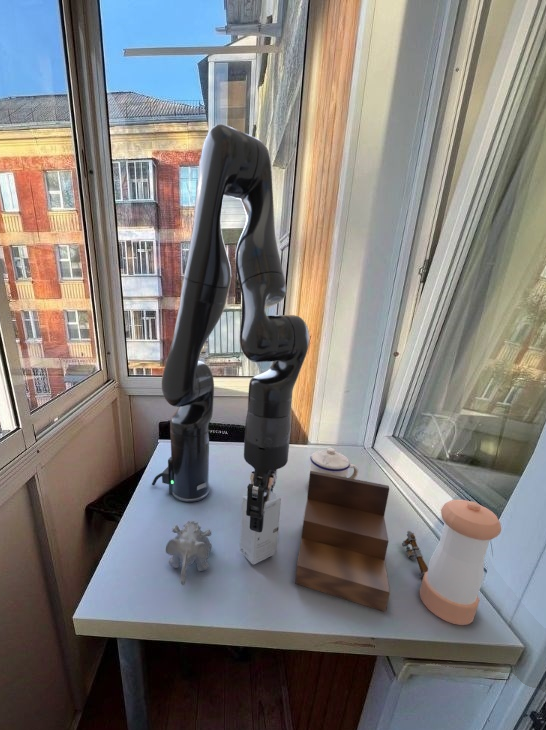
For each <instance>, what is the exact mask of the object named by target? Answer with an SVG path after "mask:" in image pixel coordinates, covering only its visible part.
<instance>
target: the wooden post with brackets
mask: <svg viewBox="0 0 546 730" xmlns="http://www.w3.org/2000/svg"><path fill="white" fill-rule="evenodd" d="M406 532H407V534H406V537H407V538H406V539H405V540H403V541H402V543H401V545H402V547H405V549H406V550H405V553H406V555H407V558H409V559H410V560H412V561H413V560H415V559H416V561H417V563H418V567H419V570H420V574H419V578H420V579H423V576H424V574H425V572H427V571H428V567H429V566H428V565H427V564H426V562H425V560H424V558H423V557H424V556H423V554H422V552H421V548H420V546H418V543H417V539H416V536H415V533H414V532H412V531H411V530H407V531H406ZM409 545H410V546H411V547H410V546H409Z"/></svg>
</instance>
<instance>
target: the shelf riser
mask: <svg viewBox="0 0 546 730" xmlns="http://www.w3.org/2000/svg"><path fill="white" fill-rule="evenodd" d="M309 475H310V477H308V484H309V486H308V487H307V495H306V496H307V497H306V503H305V509H304V515H303V520H302V530H301V539H300V545H299V550H298V557H297V562H296V570H295V579H294V580H295V581H294V584H296V585H299V586H302V587H306V588H308V589H311V590H315V591H318V592H321V593H324V594H327V595H331V596H334V597H337V598H341V599H343V600H347V601H349V602H353V603H356V604H359V605H363V606H365V607H369V608H372V609H375V610H378V611H382V612H387V607H388V604H389V603H388V602H389V597H390V594H391V593H390V584H389V578H388V572H387V566H386V556H387V551H388V545H389V535H388V531H387V530H388V529H387V525H386V519H385V514H386V508H387V503H388V497H389V493H390V486H389V485H388V484H387V485H386V484H382V483H377V482H372V481H366V480H361V479H357V478H355V479H351V478H349V477H347V478H346V477H341V476H335V475H330V474H325V473H320V472H315V471H310V470H309Z"/></svg>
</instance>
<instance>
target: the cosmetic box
mask: <svg viewBox="0 0 546 730" xmlns="http://www.w3.org/2000/svg"><path fill="white" fill-rule="evenodd" d="M266 494H267V493H266V492H264V496H266ZM281 505H282V497H281V496H279V495H277V494H276V493H275V492H274V491H273V492H272V491H271V494H270V500H269V501H268V502H266V506H265V514H264V521H263V530H262V532H256V531H253V530H251V529H250V516H247V515H246V510H247V494H246V495H244V496H242V500H241V515H240V517H241V518H240V533H239V534H240V536H239V537H240V538H239V552H240V553H241V554H242V555H243V556H244V557H245V558H246V559H247V561H249V562H250V563H251V564H252V565H256V564H258V563H260V562H262V561H264V560H266V559H269V557H271V556H273V555H276V554H277V552H278V551H277V550H278V539H279V528H280V518H281V517H280V514H281Z"/></svg>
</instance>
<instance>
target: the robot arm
mask: <svg viewBox="0 0 546 730" xmlns="http://www.w3.org/2000/svg"><path fill="white" fill-rule="evenodd" d="M197 172H198V173H197V180H196V190H195V191H196V192H195V202H194V210H193V211H194V212H193V221H192V229H191V236H190V241H189V247H188V253H187V258H186V263H185V268H184V273H183V278H182V284H181V290H180V297H179V302H178V303H179V304H178V308H177V315H176V319H175V325H174V330H173V335H172V339H171V343H170V347H169V351H168V354H167V358H166V361H165V365H164V368H163V373H162V376H161V391H162V395H163V398H164V399H165V401H166V402H167V404H168V405H171V406H172V407H176V408H177V410H176V411H175V412H174V413H173V414H172V416H171V418H170V420H169V432H170V456H169V458H168V460H167V466H166V468H165V469H164V470H163V471H162V472H160V473H158V474H157V475H156V476H155V477H154V479H153V480H152V482H151V486H153V487H154V486H155V485H156V483H157V481H158V480H159V479H160V478H161V482H162V484H165V485H168V494H169V495H172V496H173V497H174V498H175V499H176V500H178V501H180V502H184V503H193V502H199V501H202V500H204V499H206V498H207V497H208V495H209V493H210V482H209V481H210V422H211V420H212V417H213V411H214V399H215V382H214V380H215V379H214V375H213V372H212V370H211V368H210V366H208V365H207V363H205V362H204V361H201V360H200V356H201V353H202V350H203V348H204V347H205V344H206V342H207V340H208V339H209V337H210V336H211V334H212V333H213V332H214V329H215V328H216V326H217V324H218V323H219V321H220V319H221V317H222V315H223V313H224V310H225V307H226V304H227V300H228V299H227V298H228V297H229V291H230V289H231V288H230V287H231V282H232V267H231V264H230V260H229V256H228V252H227V249H226V245H225V242H224V241H225V240H224V238H223V232H222V211H223V210H222V209H223V202H224V196H227V197H231V198H233V199H237V200H240V202H241V204H242V206H243V209H244V212H245V218H246V219H245V225H244V226H243V227H244V228H243V230H242V233H241V234H240V237H239V240H238V241H237V242H238V243H237V246H236V250H235V266H236V267H235V268H236V272H237V278H238V283H239V289H240V293H241V319H240V326H239V327H240V328H239V346H240V350H241V351H242V354H243V355H244V356H245V358H246V359H248V360H249V361H251V362H253V363H270V362H272V364H271V365H270V367H269V368H268V369H267V370H266V371H263V372H260V373H258V374H255V375H254V376H252V377H251V378H250V380H249V383H248V393H247V394H248V396H247V397H248V398H247V411H246V416H245V421H244V422H245V424H244V443H243V458H244V461H245V462H246V463H247V464H248V465H249V466H251V467H252V469H254V470H251V473H250V476H249V477H250V478H249V479H250V483H248V485H247V488H246V489H247V492H246V493H247V494H246V495H247V510H246V515H247V516H250V529H251V530H253V531H256V532H262V530H263V521H264V514H265V506H266V502H268V501H269V500H270V494H271V491H272V492H273V493H274V487H275V486H276V482H277V479H278V476H277V475H278V471H279V470H280V469H283V468H284V467H285V466H286V465H287V463H288V461H289V450H290V441H291V430H292V419H291V417H292V416H291V413H292V405H293V403H292V402H293V391H294V388H295V385H296V382H297V381H298V377H299V375H300V372H301V369H302V367H303V364H304V362H305V359H306V356H307V354H308V350H309V348H310V347H309V345H310V331H309V328H308V325H307V323H306V321H305V320H304V319H303V318H302V317H300V316H299V315H295V314H280V315H277V314H276V315H275V314H273V315H267V312H266V309H268V308H271V307H273V306H275V305H277V304H280V302H282V301H283V300H284V299H285V297H286V295H287V284H286V279H285V275H284V271H283V265H282V262H281V258H280V252H279V248H278V244H277V237H276V227H275V205H274V187H273V172H272V161H271V156H270V152H269V149H268V147H267V145H266V144H265V143H264V142H263V141H261V140H260V139H258V138H256V137H255V136H252V135H250V134H248V133H245V132H244V131H240V130H238V129H236V128H233V127H231V126H229V125H225V124H220V123H219V124H216V125H215V126H214V125H213V127H212V128H211V129H210V130H209V132H208V133H207V135H206V138H205V140H204V143H203V146H202V150H201V154H200V157H199V165H198V171H197ZM264 492H266V493H267V494H266V496H264Z"/></svg>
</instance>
